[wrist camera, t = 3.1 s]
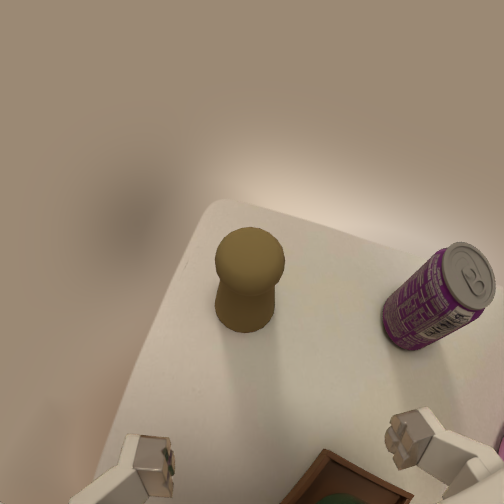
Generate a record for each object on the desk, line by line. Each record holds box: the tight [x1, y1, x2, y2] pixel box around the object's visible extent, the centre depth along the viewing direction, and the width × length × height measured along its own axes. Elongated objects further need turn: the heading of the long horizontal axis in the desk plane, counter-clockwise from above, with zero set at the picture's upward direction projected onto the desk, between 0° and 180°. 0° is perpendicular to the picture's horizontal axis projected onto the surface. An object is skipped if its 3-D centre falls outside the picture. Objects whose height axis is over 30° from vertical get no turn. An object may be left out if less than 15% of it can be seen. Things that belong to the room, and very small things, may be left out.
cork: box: [215, 227, 285, 333], centre depth 27 cm, size 6×6×11 cm
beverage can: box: [383, 242, 496, 350], centre depth 27 cm, size 7×7×12 cm
